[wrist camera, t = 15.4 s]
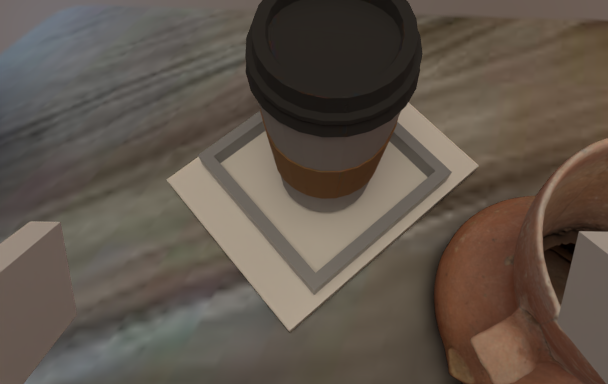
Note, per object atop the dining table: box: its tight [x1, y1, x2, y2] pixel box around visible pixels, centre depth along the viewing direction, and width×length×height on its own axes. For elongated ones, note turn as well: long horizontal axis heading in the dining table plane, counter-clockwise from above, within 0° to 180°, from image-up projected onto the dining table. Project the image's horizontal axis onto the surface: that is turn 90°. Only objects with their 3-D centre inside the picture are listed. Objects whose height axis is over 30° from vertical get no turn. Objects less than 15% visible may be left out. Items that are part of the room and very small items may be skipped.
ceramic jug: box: [434, 138, 608, 384], centre depth 25 cm, size 18×14×14 cm
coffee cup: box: [246, 0, 422, 212], centre depth 28 cm, size 8×8×15 cm
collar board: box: [167, 102, 479, 332], centre depth 34 cm, size 14×18×2 cm
